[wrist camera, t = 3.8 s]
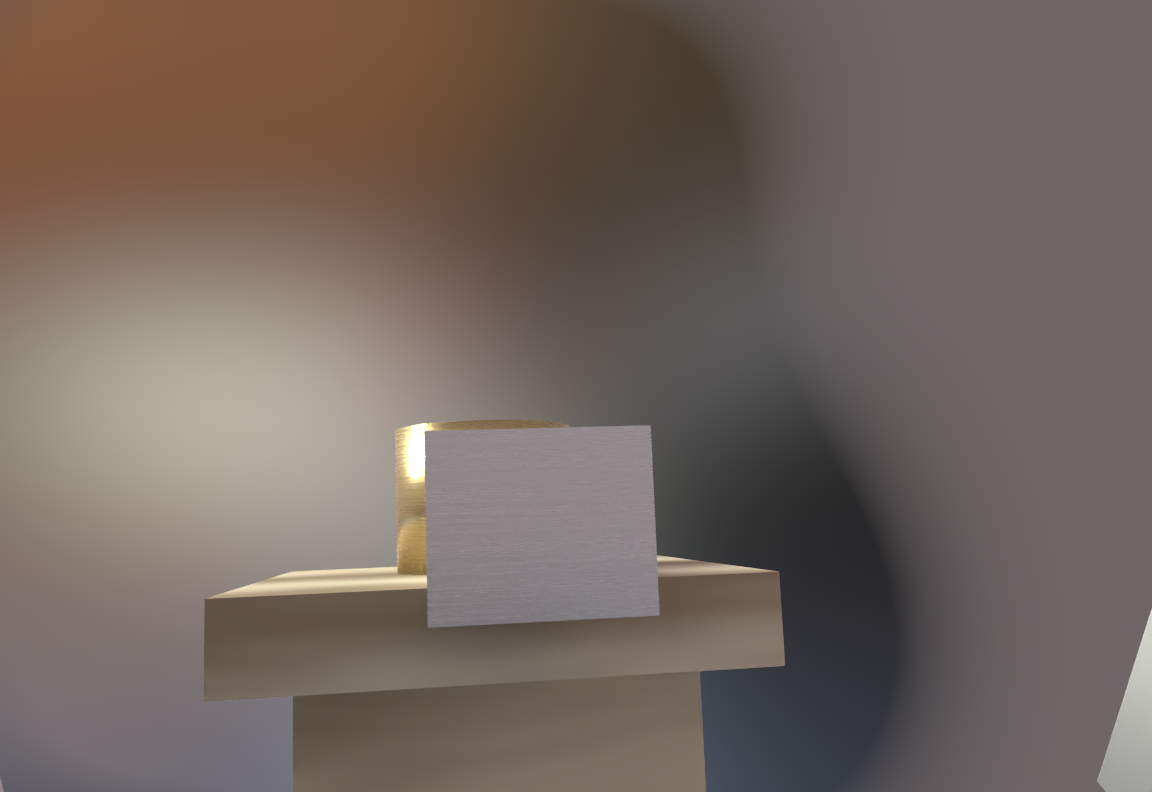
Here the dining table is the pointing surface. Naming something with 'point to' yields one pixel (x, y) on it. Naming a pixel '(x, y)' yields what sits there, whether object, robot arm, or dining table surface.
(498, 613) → the strut
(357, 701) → the stand
